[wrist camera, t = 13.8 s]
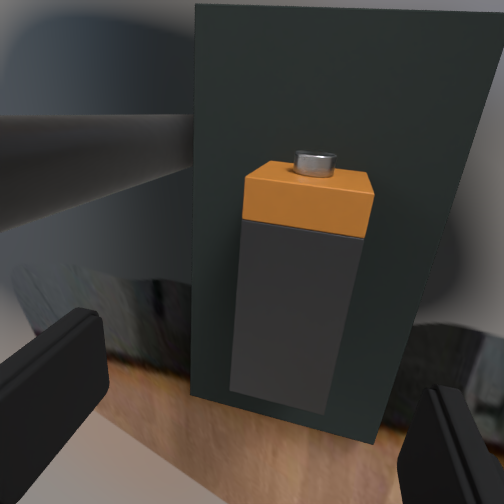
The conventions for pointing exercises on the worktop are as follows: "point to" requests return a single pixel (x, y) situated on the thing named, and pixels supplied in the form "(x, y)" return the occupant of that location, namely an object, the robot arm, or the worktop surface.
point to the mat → (348, 158)
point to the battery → (296, 277)
